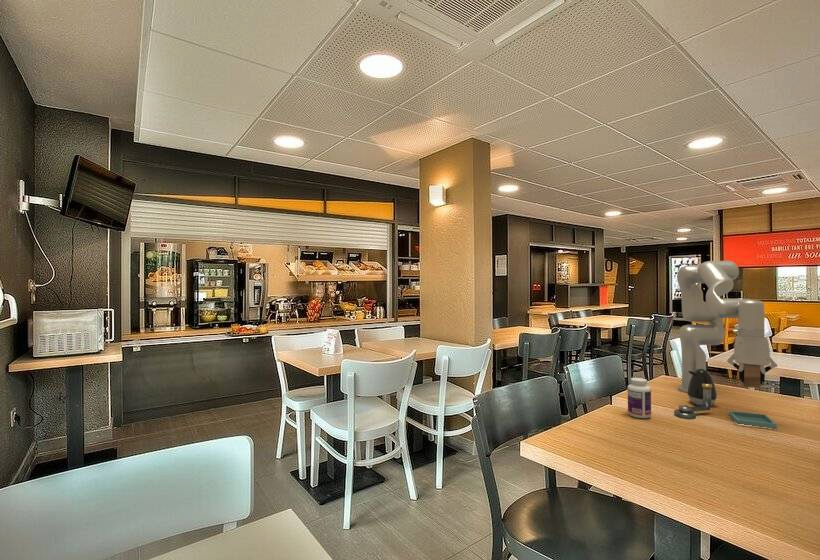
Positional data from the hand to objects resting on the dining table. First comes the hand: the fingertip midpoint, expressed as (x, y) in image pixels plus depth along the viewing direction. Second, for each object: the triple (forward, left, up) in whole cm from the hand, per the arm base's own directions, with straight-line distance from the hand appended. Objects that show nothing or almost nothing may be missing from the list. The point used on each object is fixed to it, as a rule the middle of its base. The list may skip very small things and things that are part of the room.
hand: (751, 382), depth 151 cm
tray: (0, 0, -15) cm, 15 cm away
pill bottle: (+8, -37, -15) cm, 41 cm away
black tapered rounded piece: (-19, -12, -15) cm, 27 cm away
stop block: (0, 0, -1) cm, 1 cm away
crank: (-2, -17, -13) cm, 22 cm away
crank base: (+1, -21, -15) cm, 26 cm away
